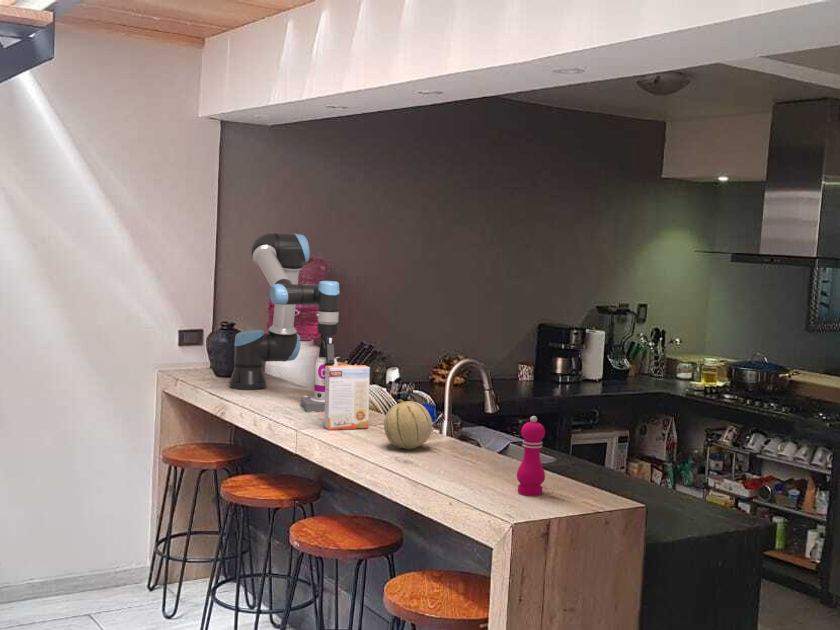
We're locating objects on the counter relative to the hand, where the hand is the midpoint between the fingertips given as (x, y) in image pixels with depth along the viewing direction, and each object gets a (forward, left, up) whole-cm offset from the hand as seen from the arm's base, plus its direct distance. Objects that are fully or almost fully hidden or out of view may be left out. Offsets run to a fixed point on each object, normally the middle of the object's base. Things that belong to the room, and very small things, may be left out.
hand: (325, 380), depth 357 cm
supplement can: (0, 0, -7) cm, 7 cm away
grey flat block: (0, 0, -10) cm, 10 cm away
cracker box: (+37, +1, -11) cm, 39 cm away
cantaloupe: (+69, +14, -11) cm, 71 cm away
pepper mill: (+123, +33, -11) cm, 128 cm away
